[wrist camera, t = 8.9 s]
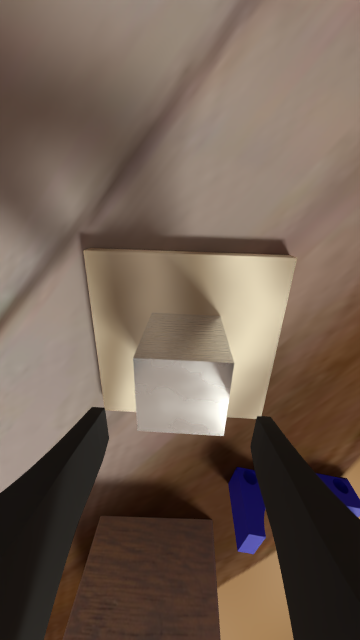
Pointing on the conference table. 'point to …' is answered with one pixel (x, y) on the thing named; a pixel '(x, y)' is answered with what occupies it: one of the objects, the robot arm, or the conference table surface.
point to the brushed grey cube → (183, 375)
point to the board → (188, 312)
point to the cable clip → (252, 508)
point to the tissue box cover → (148, 582)
